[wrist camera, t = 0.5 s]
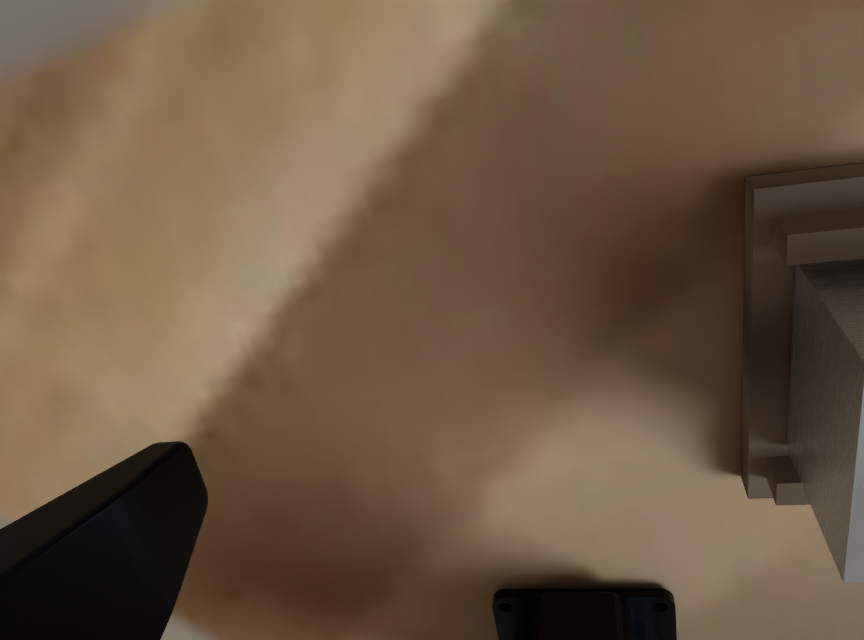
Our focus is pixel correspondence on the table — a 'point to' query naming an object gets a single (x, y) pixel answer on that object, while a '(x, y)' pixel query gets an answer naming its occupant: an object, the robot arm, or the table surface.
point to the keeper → (830, 404)
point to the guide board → (786, 303)
